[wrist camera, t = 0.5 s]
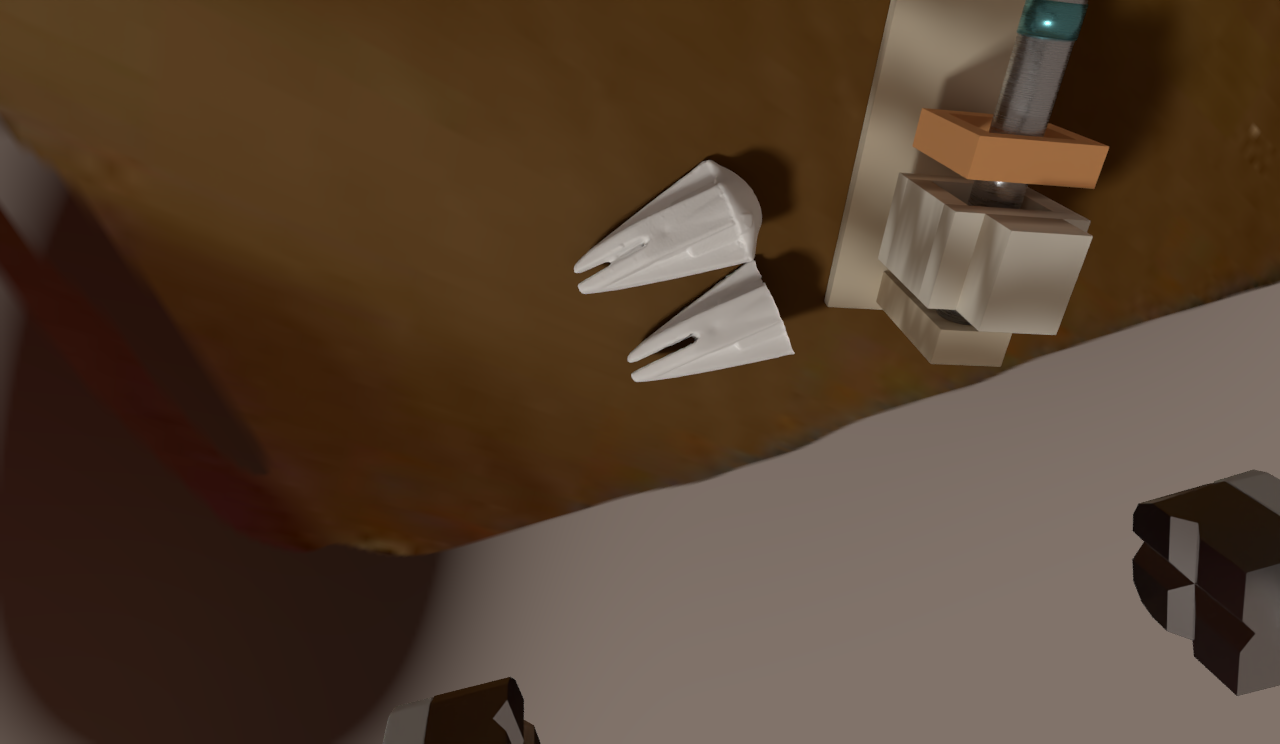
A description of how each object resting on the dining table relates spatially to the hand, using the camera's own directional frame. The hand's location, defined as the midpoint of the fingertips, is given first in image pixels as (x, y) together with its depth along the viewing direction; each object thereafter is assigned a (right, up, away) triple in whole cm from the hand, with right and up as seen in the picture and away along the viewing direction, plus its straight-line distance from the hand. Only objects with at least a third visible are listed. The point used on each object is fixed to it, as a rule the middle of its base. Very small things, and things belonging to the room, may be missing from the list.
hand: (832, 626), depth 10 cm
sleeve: (+15, +12, +36) cm, 41 cm away
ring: (+15, +16, +34) cm, 40 cm away
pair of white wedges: (0, +10, +39) cm, 40 cm away
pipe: (+16, +15, +31) cm, 38 cm away
